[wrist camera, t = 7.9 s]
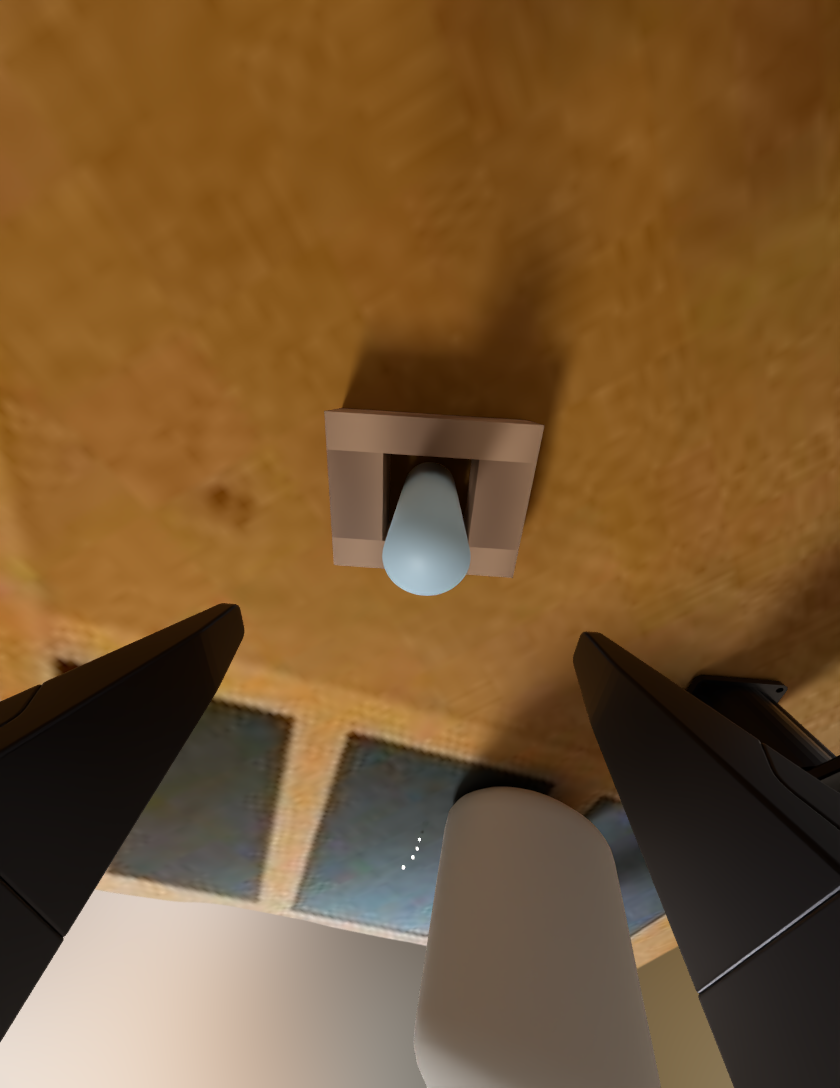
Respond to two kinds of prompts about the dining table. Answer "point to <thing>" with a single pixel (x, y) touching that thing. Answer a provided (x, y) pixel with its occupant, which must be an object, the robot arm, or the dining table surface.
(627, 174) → the dining table surface
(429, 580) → the dowel
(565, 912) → the jar
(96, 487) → the dining table surface
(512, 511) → the socket block
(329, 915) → the dining table surface
